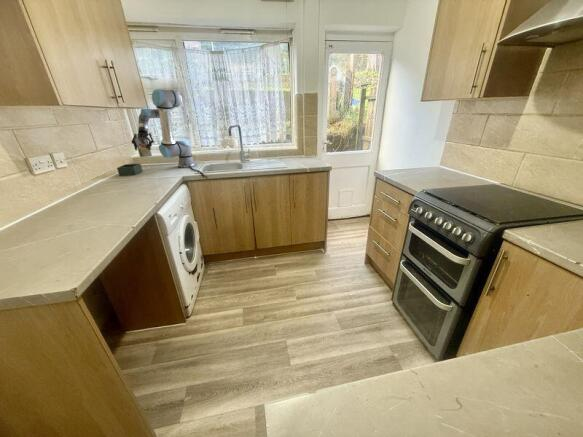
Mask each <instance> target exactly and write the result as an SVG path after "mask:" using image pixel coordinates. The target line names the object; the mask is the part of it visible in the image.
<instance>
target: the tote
mask: <svg viewBox="0 0 583 437" xmlns="http://www.w3.org/2000/svg"><path fill="white" fill-rule="evenodd" d="M116 170H117V172H118V175H119V177H125V176H126V177H127V176H136V175H139V174H141V173H142V172H143V168H142V164H141V163H126V164H122V165H120V166H118V167H116Z"/></svg>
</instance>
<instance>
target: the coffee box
mask: <svg viewBox="0 0 583 437" xmlns="http://www.w3.org/2000/svg"><path fill="white" fill-rule="evenodd" d="M135 142H136V145H137V151H138V155H139V157H140V158H147V157H152V156H153V155H152V152H151V150H150V149H149V141H148V140H147V138H146V137H145V138H135Z"/></svg>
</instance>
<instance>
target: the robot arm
mask: <svg viewBox="0 0 583 437" xmlns="http://www.w3.org/2000/svg"><path fill="white" fill-rule="evenodd" d="M151 102H152V104H153V105H154V106H155V107H156V108H150V107H148V108H149V109H142V108H141V109H140V114H139V115H138V118H137V119H138V124H137V125H138V126H137V133H134V134H133V137H132V139H131V144H132V145H133V147H134V150H135V151H136V152H137V151H138V148H137V145H136V142H135V138H145V137H146V138H147V140H148V144H149V149H150V151H151V149H152V146H153V144H154V143H155V140H154V139H153V136H152V135H153V134H152V133H151V132H149V121H150V119H159V121H160V131H161V137H162V140H161V141H160V143H161V144H159V145H158V150H159V153H160V154H161V156H162V157H163V158H165V159H168V158H174V157H178V167H179V168H185V169H186V168H190V169H191V170H192V171H196V172H198V173H200V174H201V175H202V177H203V178H204V177H205V178H206V179H208V178H209V177H208V176H207V175H204V173H203V172H202V171H200V170H198V169H195V168H193V167H195V166H196V165H197V164H196V163H197V162H196V161H195V160H194V158H193V154H192V149H191V144H190V142H189V141H188V140H174V130H173V122H172V113H171V112H172V110H174V109H175V108H178V107H180V106H182V104H183V96H182V95H181V94H180V93H179V91H176V90H175V89H160V88H159V89H157V88H156V89H154V90H153V91H152V93H151ZM148 136H149V137H148ZM212 211H213V217H214V223H215V228H216V230H218V224H217V218H216V212H215V208H214V207H212Z"/></svg>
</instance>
